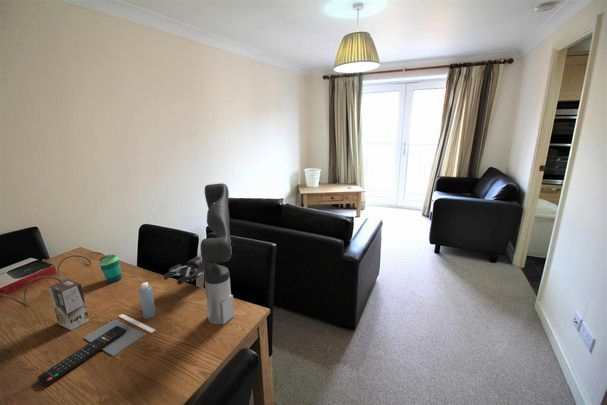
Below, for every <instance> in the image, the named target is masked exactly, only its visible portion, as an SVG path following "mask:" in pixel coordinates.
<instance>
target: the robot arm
mask: <svg viewBox="0 0 607 405" xmlns="http://www.w3.org/2000/svg"><path fill="white" fill-rule="evenodd" d="M229 195H230V194H229V188H228V185H227V184H226V183H224V182H223V183H212V184H206V185H205V187H204V197H205V202H206V205H207V208H208V210H207V213H206V224H207V227H208V228H209V229H210V230H211V231H212V232H213V233H214V237H209V238H203V239H202V240H201V242H200V245H199V247H200V255H198V256H196V257H194V258H192V259H190V260H188V261H187V263H186V264H185V265H182V264H181V263H178V264H177V265H174V266H173V267H170V268H168V272H166V273H165V274H164V275H163V280H165V281H167V280H169V279H170V278H172V277H175V276H177V277H180V276H181V277H180V278H179V279H177V280H176V283H177V285H178V286H180V285H182V284H184V283H186V282H191V283H192V282H194V281H195V280H197V279H199V278H200V277H201V276H202V273H203V279H204V290H205V300H206V308H207V319H208V322H209V323H210V324H212V325H225V324H227V323H228V322H229V321H230V320H231V319H233V318H234V317H235V304H234V294H232V292H231V291H232V290H231V277H230V275H231V274H230V270H229V268H228V267H227V266H225V265H220V264H217V263H225V262H228V261H229V262H230V260H231V258H232V257H231V255H232V246H231V241H232V239H231V235H230V234H231V233H230V232H231V231H230V211H229V197H230V196H229ZM215 236H216V237H217V238H215Z"/></svg>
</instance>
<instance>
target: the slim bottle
mask: <svg viewBox="0 0 607 405" xmlns="http://www.w3.org/2000/svg"><path fill="white" fill-rule="evenodd" d="M140 285H141V286H140V287H139V289H138V292H139V293H138V294H139V298H140V305H141V309H142V315H143V316H142V317H143V319H144V320H145V319H147V320H149V319H152V318H153V317H155V316H157V311H156V306H155V305H156V304H155V298H154V293H153V286H152V285H149V282H148V281H145V282H142V283H141V284H140Z"/></svg>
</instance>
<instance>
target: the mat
mask: <svg viewBox="0 0 607 405" xmlns="http://www.w3.org/2000/svg"><path fill="white" fill-rule="evenodd" d="M115 326H119V327H121V328H124V329H126V332H125V333H123V334H122V335H120V336H119V337H117V338H116V339H115V340H113V341H112V342H110V343H109V344H107V345H106V346H104V347H103V348H101V349H100V350H101V351H104V352H105V353H106V354H109V355H110V356H112V357H116V356H117V355H118V354H120V353H121V352H123V351H124V350H125V349H128V348H129V347H130V346H132V345H133V344H135V343H136V342H138V341H139V340H141V339H142V338H144V337H145V336H146V334H145V333H144V332H142V331H140V330H138V329H135V328H133V327H132V326H129V325H128V324H126V323H124V322H121V321H120V320H118V319H116V318H115V319H113V320H112V321H110V322H108V323H107V324H105V325H102V326H101V327H99V328H97V329H96V330H94V331H92V332H91V333H89V334H86V335H85V336H83V339H84V340H85V341H87V342H89V343H90V342H92V341H93V340H95V339H97V338H98V337H100V336H101V335H103V334H104V333H106V332H107V331H109V330H110V329H112V328H114V327H115Z"/></svg>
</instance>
